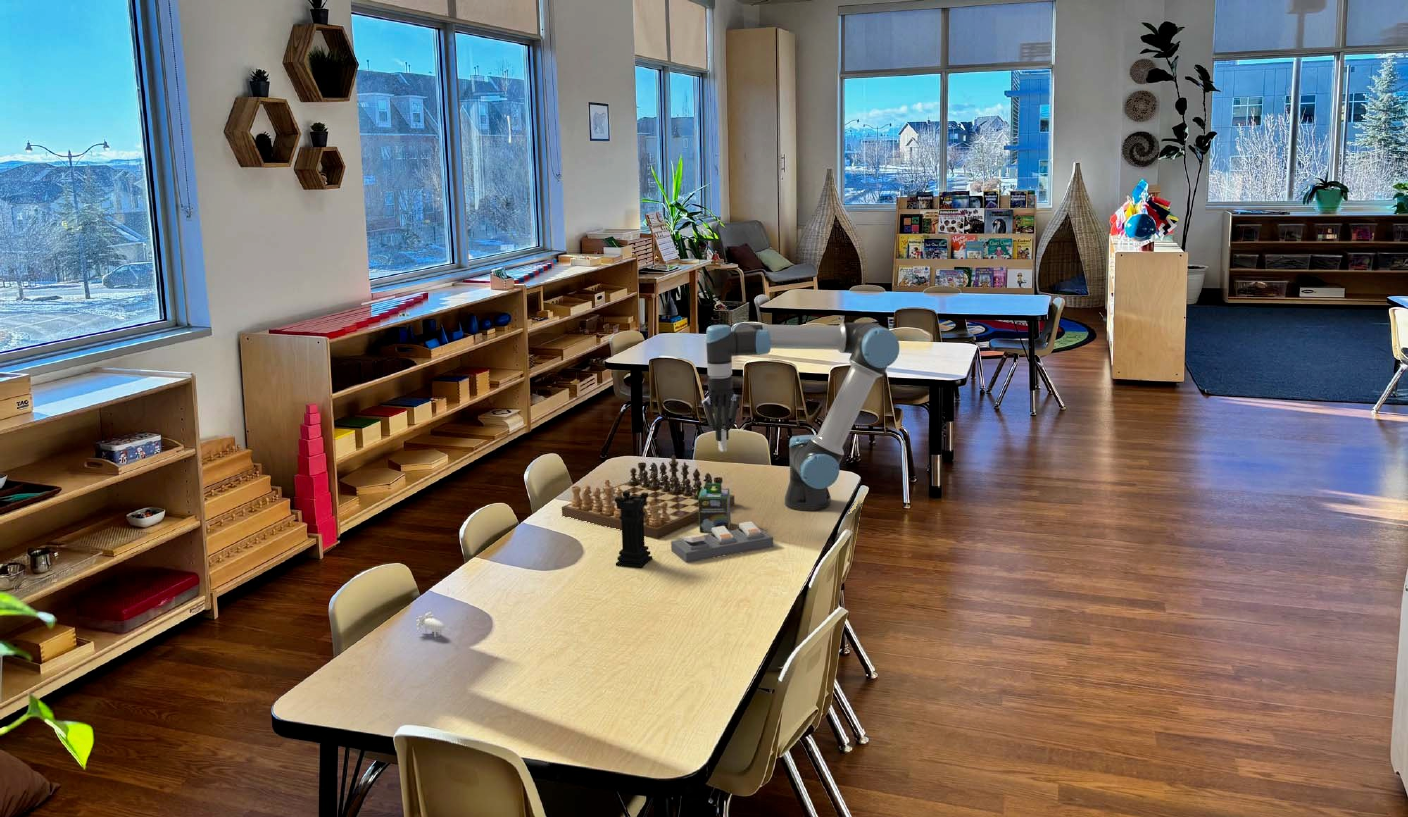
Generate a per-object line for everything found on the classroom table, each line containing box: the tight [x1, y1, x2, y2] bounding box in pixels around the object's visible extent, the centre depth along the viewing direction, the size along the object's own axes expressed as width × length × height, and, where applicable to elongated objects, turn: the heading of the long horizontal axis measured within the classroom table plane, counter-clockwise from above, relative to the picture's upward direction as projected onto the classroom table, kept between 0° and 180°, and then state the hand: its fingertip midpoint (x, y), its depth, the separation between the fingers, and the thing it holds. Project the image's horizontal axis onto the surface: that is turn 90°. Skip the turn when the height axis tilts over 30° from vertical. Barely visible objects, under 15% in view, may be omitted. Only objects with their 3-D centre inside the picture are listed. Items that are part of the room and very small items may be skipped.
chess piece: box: [615, 491, 653, 570], centre depth 316 cm, size 8×8×20 cm
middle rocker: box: [711, 526, 733, 542], centre depth 326 cm, size 4×6×1 cm, turn 24°
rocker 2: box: [738, 520, 761, 536], centre depth 330 cm, size 4×6×1 cm, turn 24°
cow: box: [415, 610, 452, 638], centre depth 272 cm, size 12×5×5 cm, turn 52°
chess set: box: [561, 455, 735, 540], centre depth 363 cm, size 40×40×15 cm
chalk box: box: [698, 482, 732, 533], centre depth 344 cm, size 9×9×15 cm
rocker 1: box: [682, 534, 705, 542], centre depth 323 cm, size 4×6×1 cm, turn 24°
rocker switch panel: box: [670, 525, 774, 564], centre depth 327 cm, size 28×11×4 cm, turn 114°
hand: (722, 450), depth 345 cm, fingers closed
